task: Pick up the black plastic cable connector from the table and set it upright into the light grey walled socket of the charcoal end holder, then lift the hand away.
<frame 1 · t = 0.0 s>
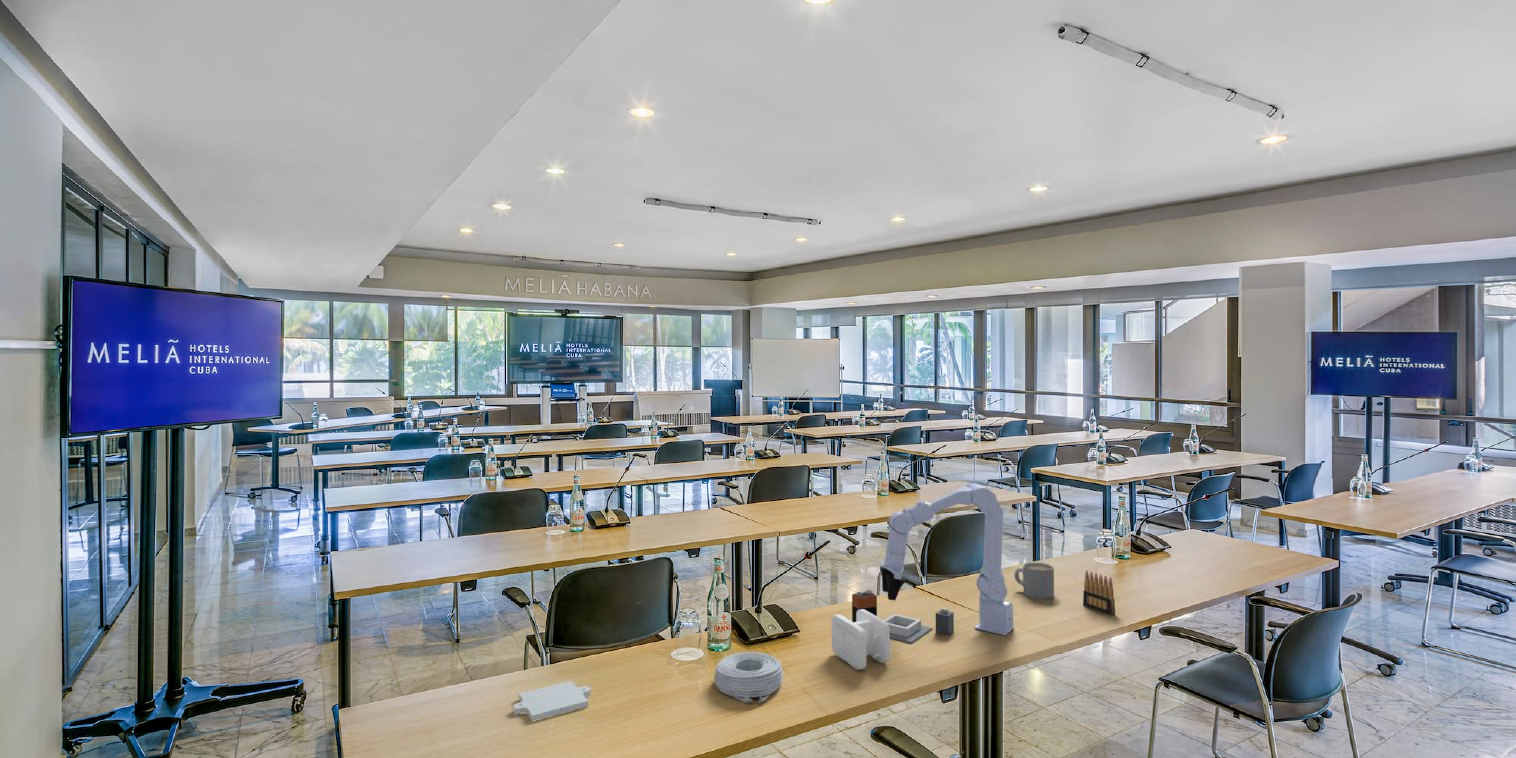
hand: (888, 595, 208), 11 cm above the table, tool pointing down, fingers open, 7 cm apart
mounting plate: (553, 705, 164), on the table
ammunition clip: (1098, 610, 224), on the table
battery: (864, 624, 214), on the table
connector: (944, 632, 206), on the table
cable: (748, 686, 173), on the table
cable organizer: (860, 661, 187), on the table
end holder: (900, 631, 208), on the table
coffee mug: (1034, 593, 242), on the table
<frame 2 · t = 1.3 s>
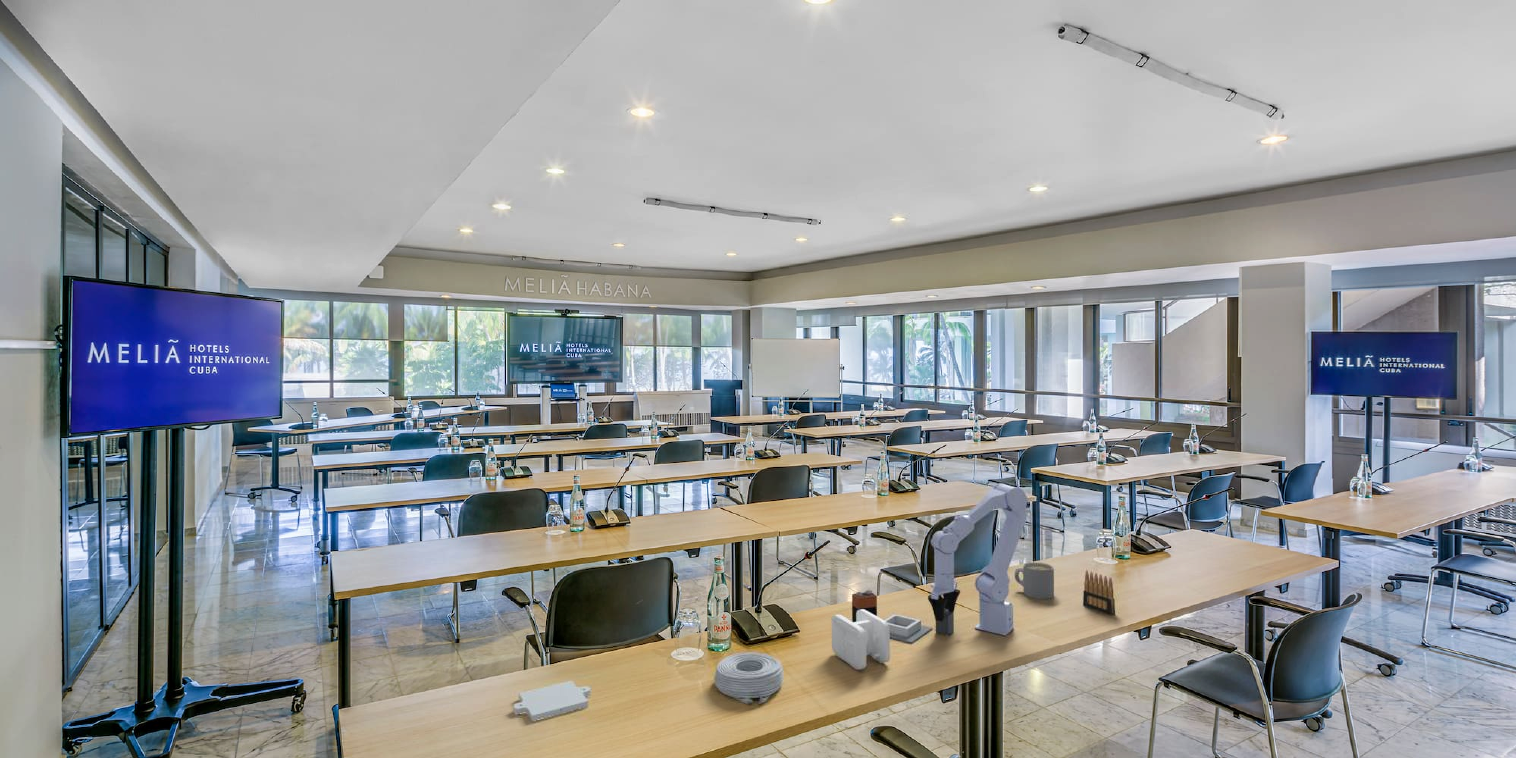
hand: (944, 616, 206), 5 cm above the table, tool pointing down, fingers open, 7 cm apart
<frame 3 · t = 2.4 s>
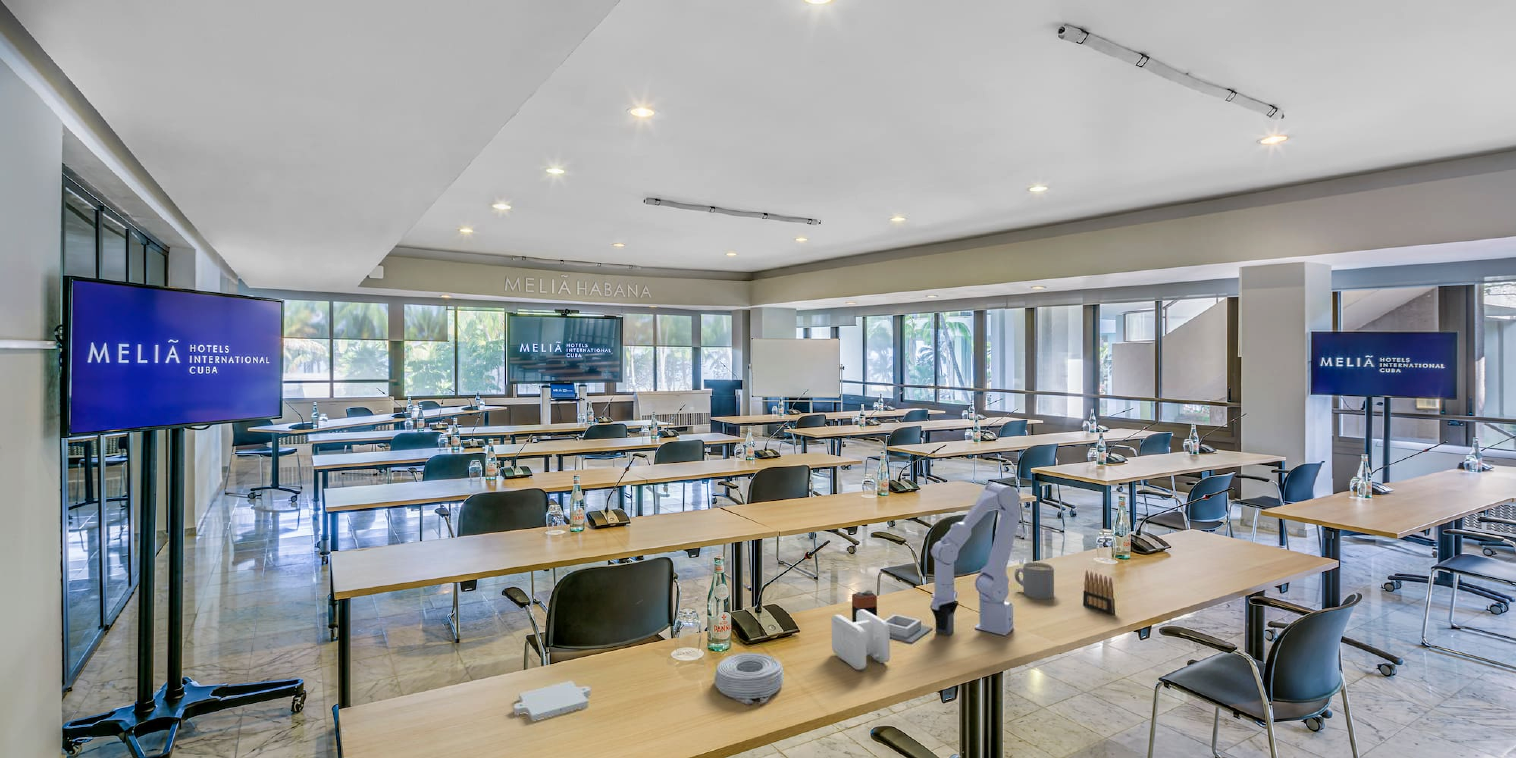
hand: (944, 627, 206), 2 cm above the table, tool pointing down, fingers closed on connector, 4 cm apart
connector: (944, 632, 206), on the table, touching gripper
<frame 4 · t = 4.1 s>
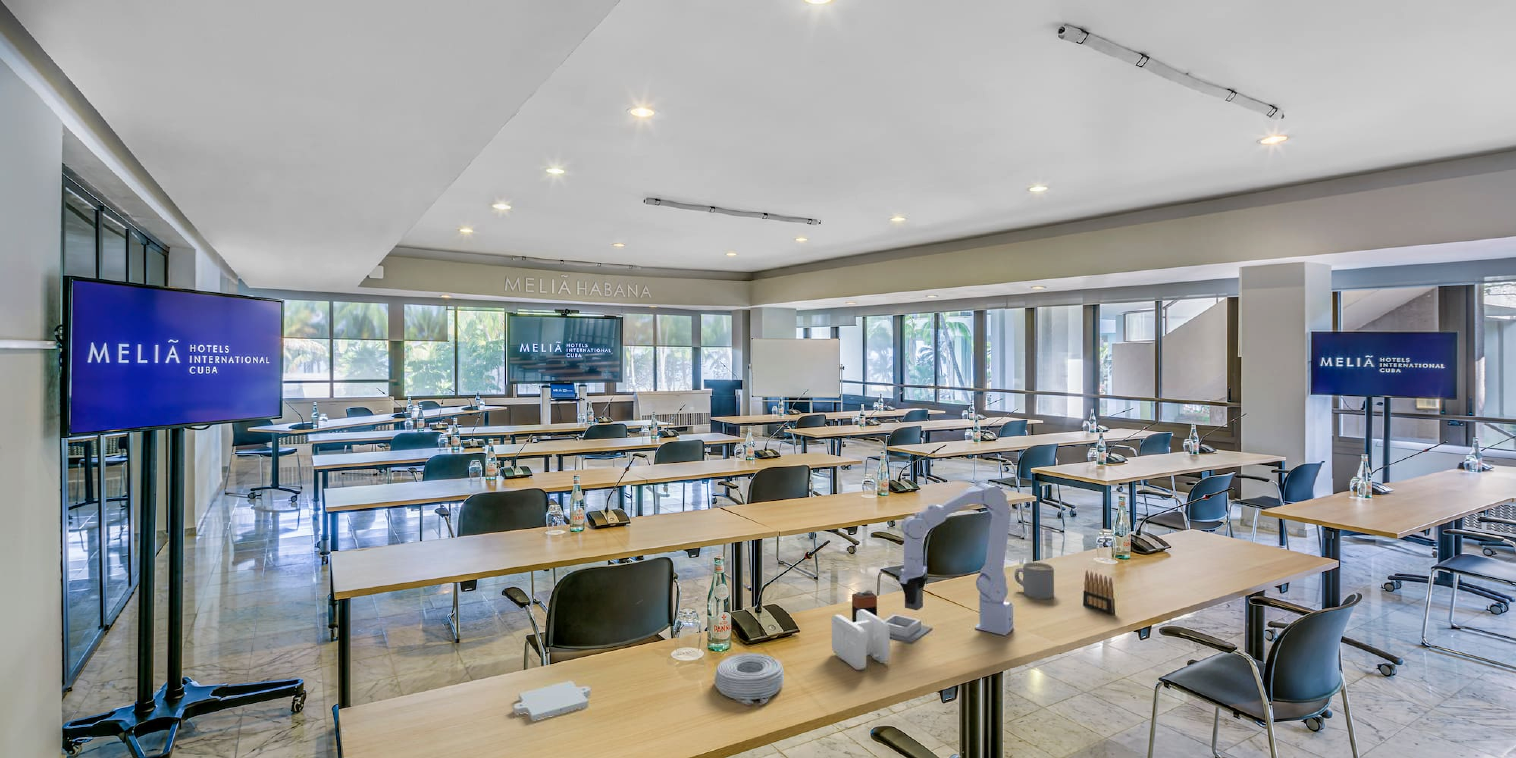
hand: (913, 601, 207), 9 cm above the table, tool pointing down, fingers closed on connector, 4 cm apart
connector: (913, 607, 207), point 7 cm above the table, touching gripper
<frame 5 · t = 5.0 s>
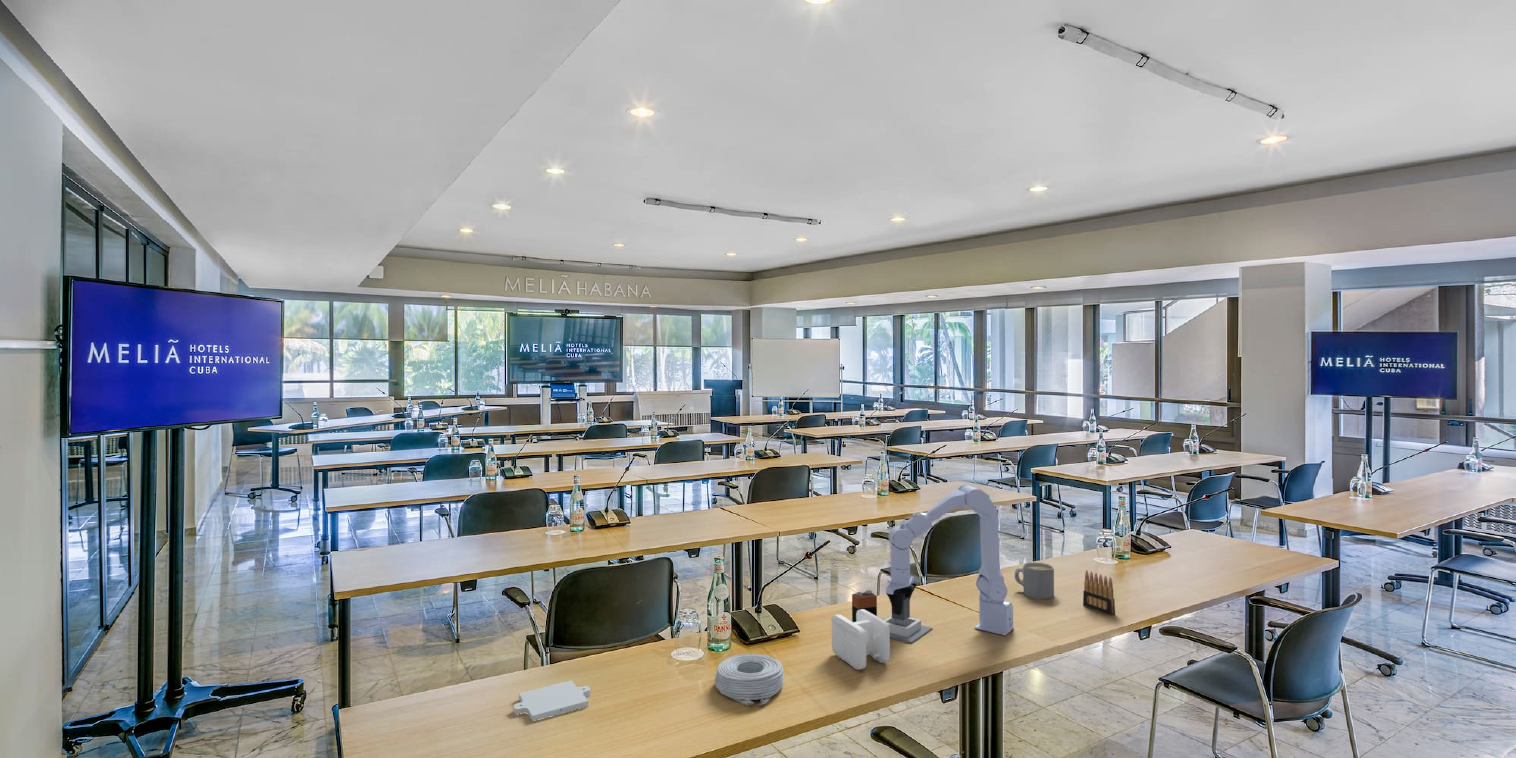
hand: (900, 611, 208), 6 cm above the table, tool pointing down, fingers closed on connector, 4 cm apart
connector: (900, 617, 207), point 4 cm above the table, touching gripper
when the fingers open (4 cm above the table, at t = 5.8 s): connector drops 1 cm, resting on end holder.
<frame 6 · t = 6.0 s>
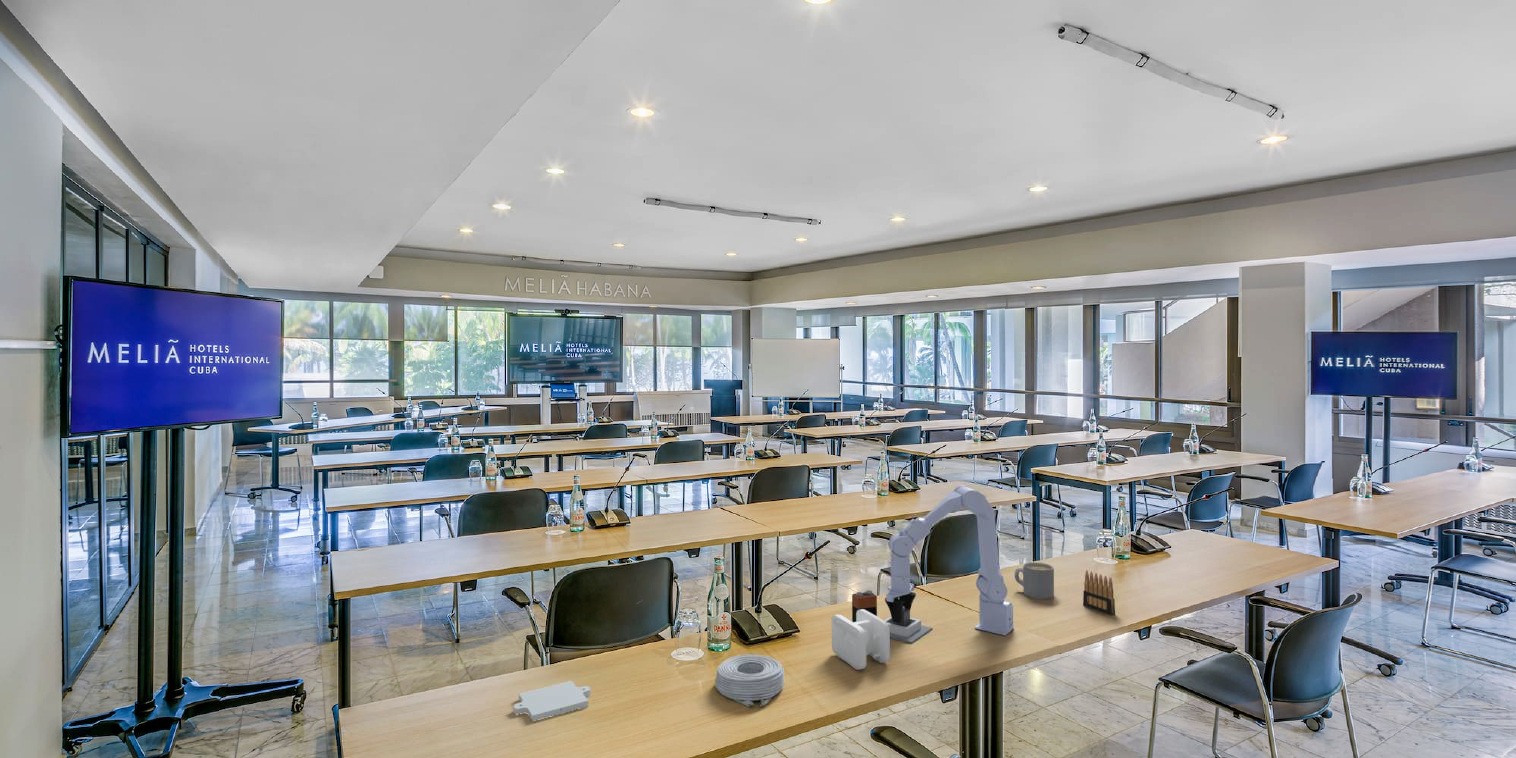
hand: (900, 619, 208), 4 cm above the table, tool pointing down, fingers open, 5 cm apart
connector: (901, 629, 208), resting on end holder
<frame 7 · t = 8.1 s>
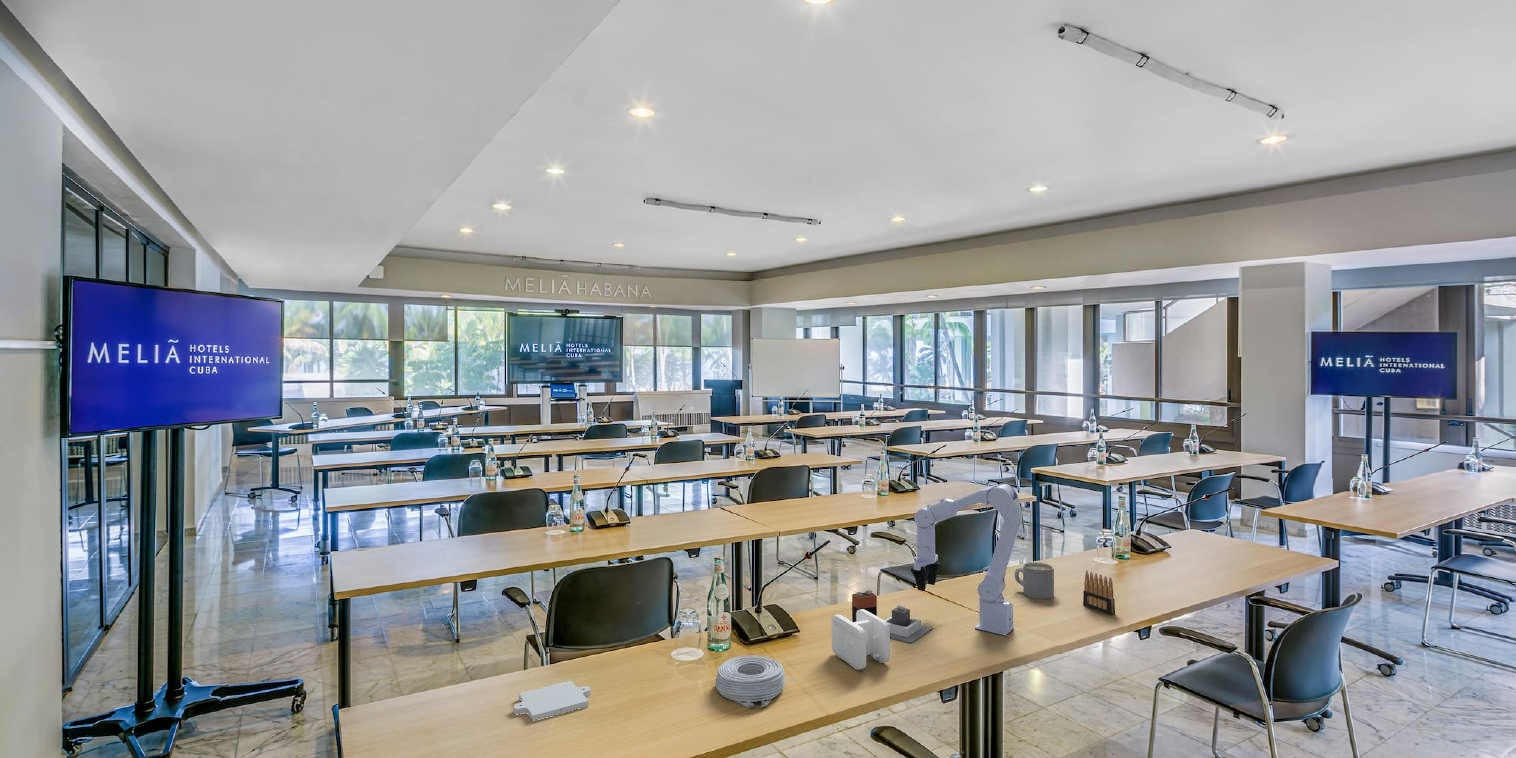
hand: (926, 587, 220), 9 cm above the table, tool pointing down, fingers open, 7 cm apart
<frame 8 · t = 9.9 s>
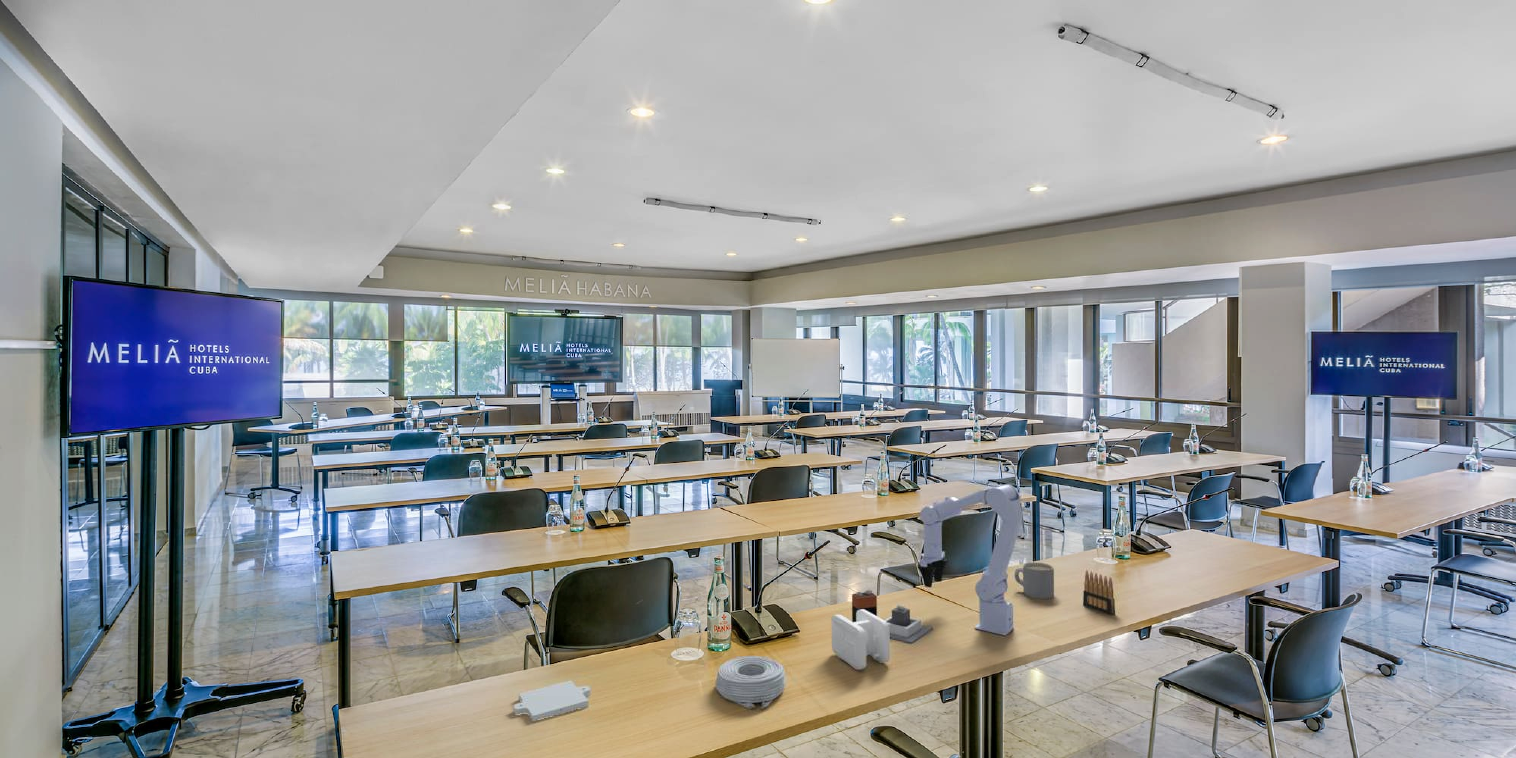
hand: (933, 583, 223), 9 cm above the table, tool pointing down, fingers open, 7 cm apart
at the end: connector 0.0 cm off-centre on the end holder, point 0.5 cm above the end holder's base; connector tilted 0°; the gripper is holding nothing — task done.
